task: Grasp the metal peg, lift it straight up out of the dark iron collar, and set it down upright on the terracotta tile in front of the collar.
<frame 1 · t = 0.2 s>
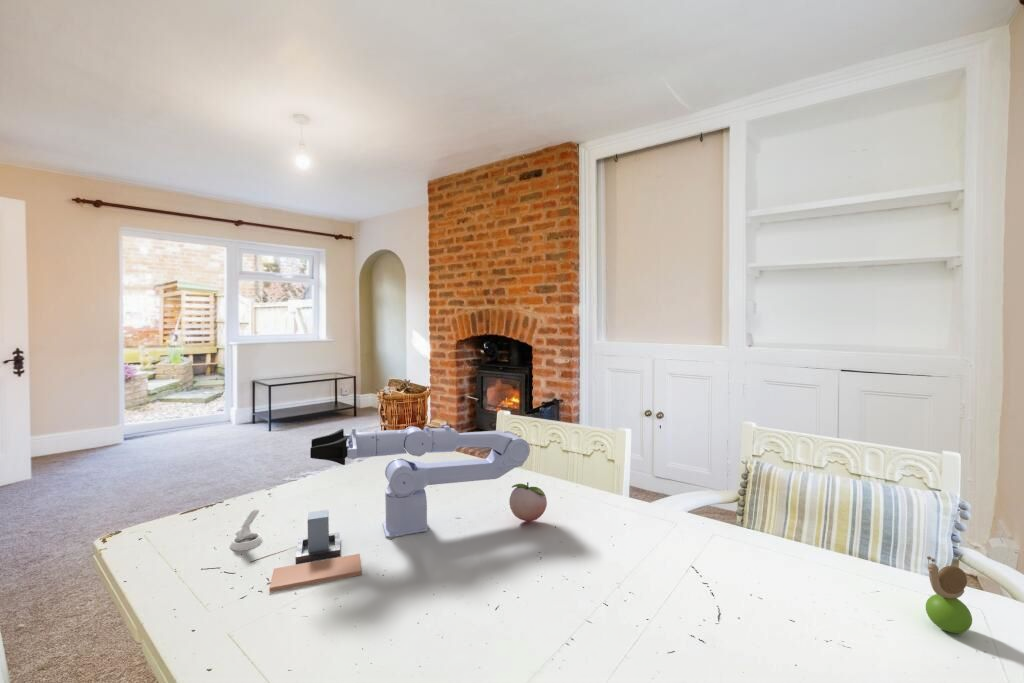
hand: (310, 448, 102), 21 cm above the table, tool horizontal, fingers open, 7 cm apart
metal peg: (318, 551, 99), resting in iron collar
decorative fruit: (527, 523, 113), on the table
terracotta tile: (317, 573, 91), on the table
iron collar: (318, 550, 99), on the table
white handled ring: (246, 544, 103), on the table
snail figurine: (944, 630, 74), on the table
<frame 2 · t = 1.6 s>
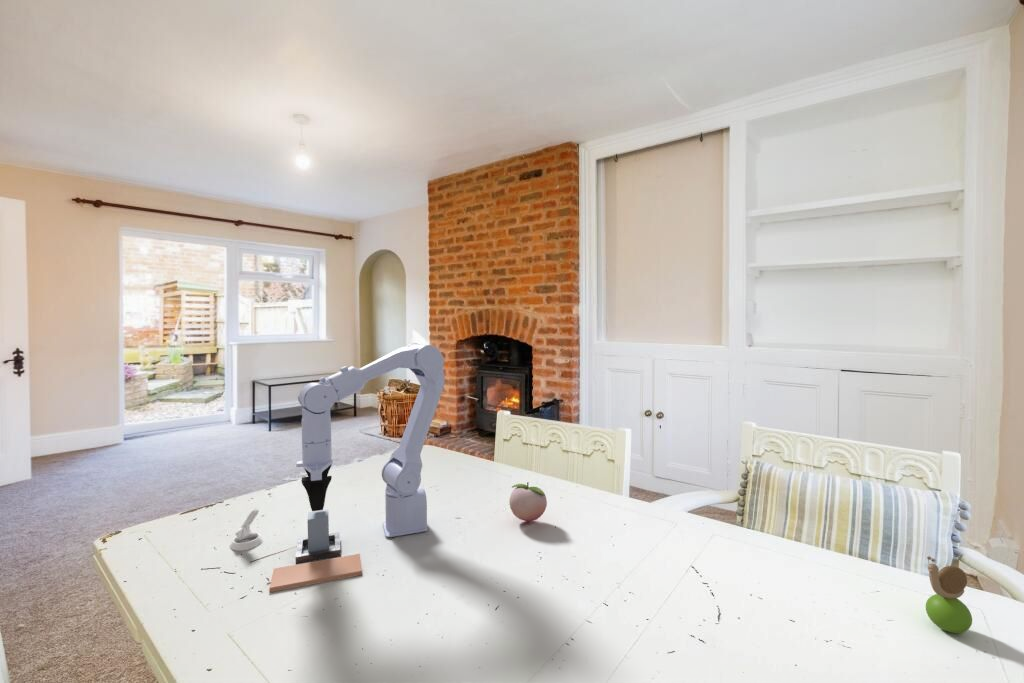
hand: (317, 503, 99), 10 cm above the table, tool pointing down, fingers open, 7 cm apart
nothing on the table moved.
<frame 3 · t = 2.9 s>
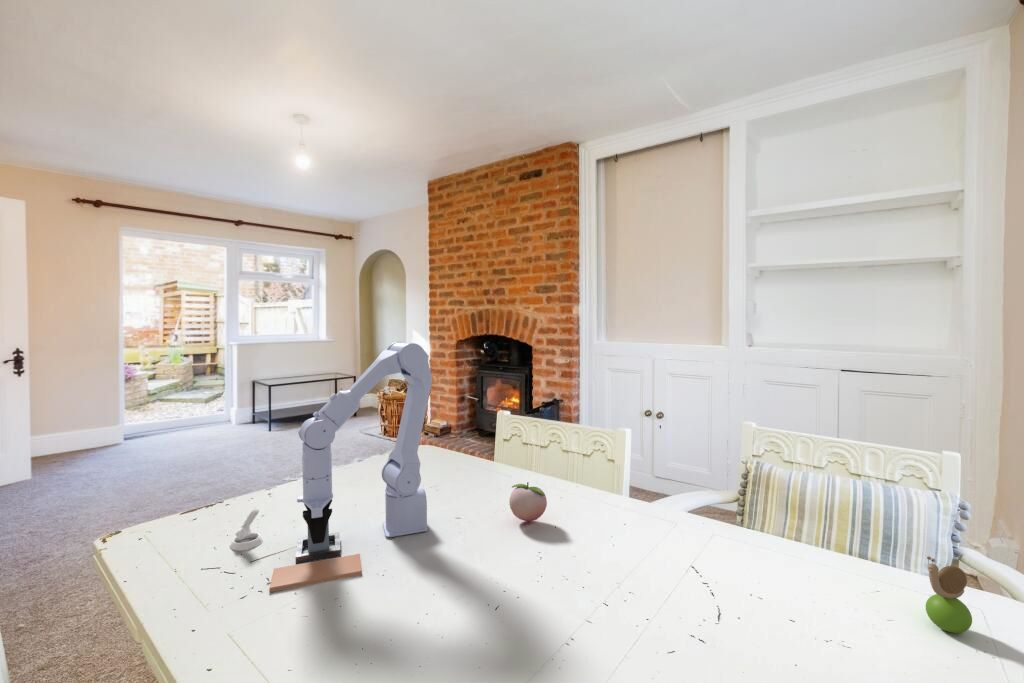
hand: (318, 537, 99), 3 cm above the table, tool pointing down, fingers closed on metal peg, 4 cm apart
metal peg: (318, 551, 99), resting in iron collar, touching gripper
everything else where it was.
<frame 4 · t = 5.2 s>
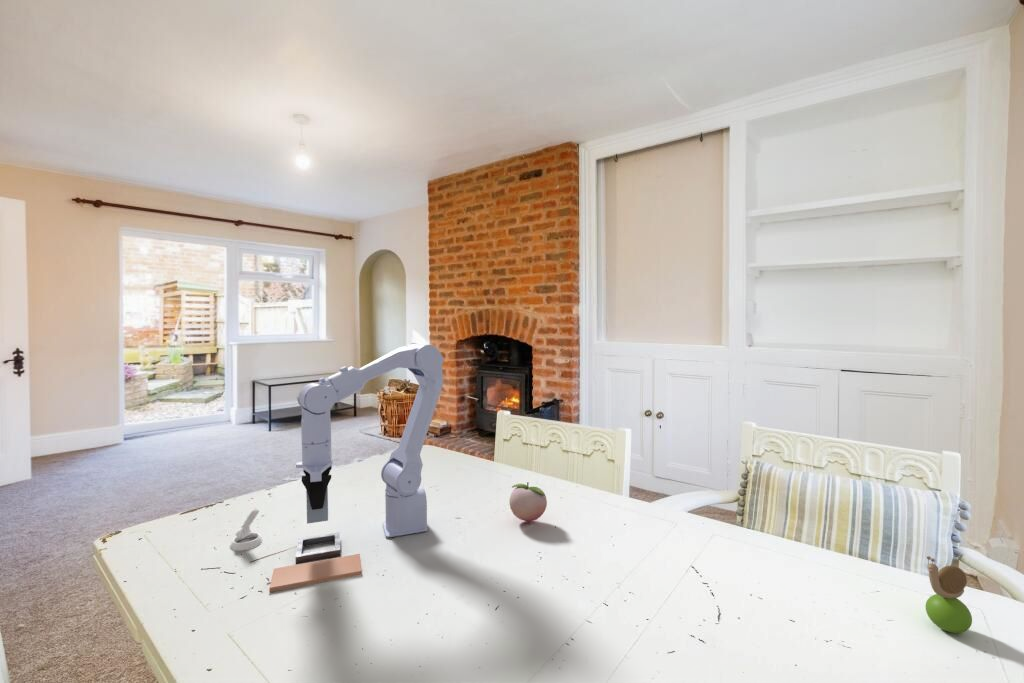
hand: (317, 504, 98), 10 cm above the table, tool pointing down, fingers closed on metal peg, 4 cm apart
metal peg: (317, 518, 98), point 7 cm above the table, touching gripper
everything else where it was.
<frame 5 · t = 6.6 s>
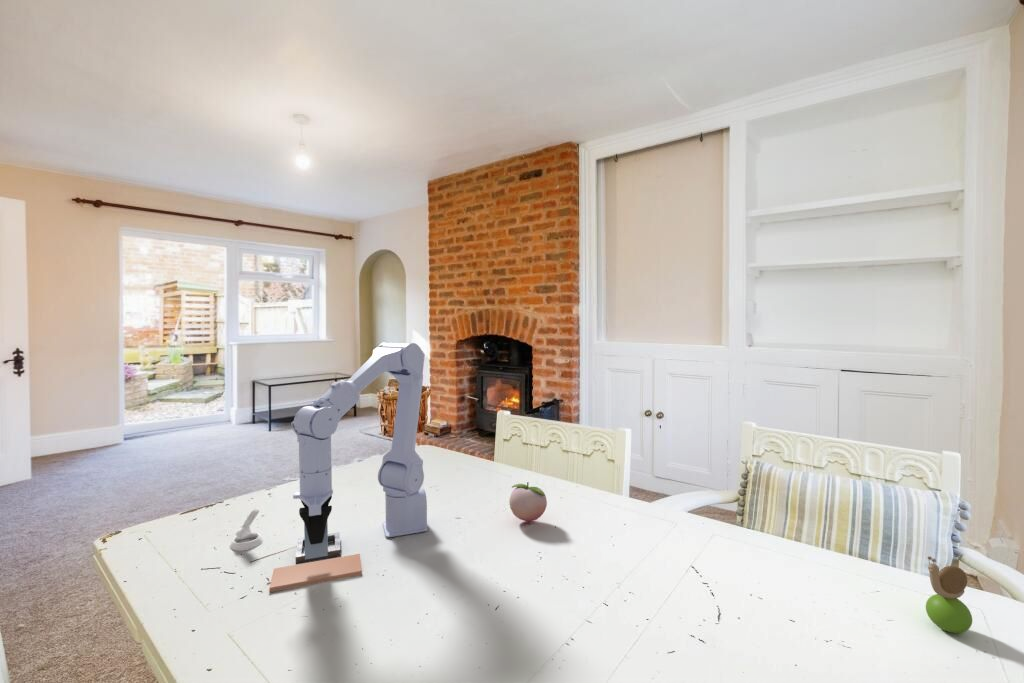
hand: (316, 537, 90), 7 cm above the table, tool pointing down, fingers closed on metal peg, 4 cm apart
metal peg: (316, 552, 90), point 4 cm above the table, touching gripper
everything else where it was.
when the fingers open (5 cm above the table, at t = 7.8 s): metal peg drops 1 cm, resting on terracotta tile.
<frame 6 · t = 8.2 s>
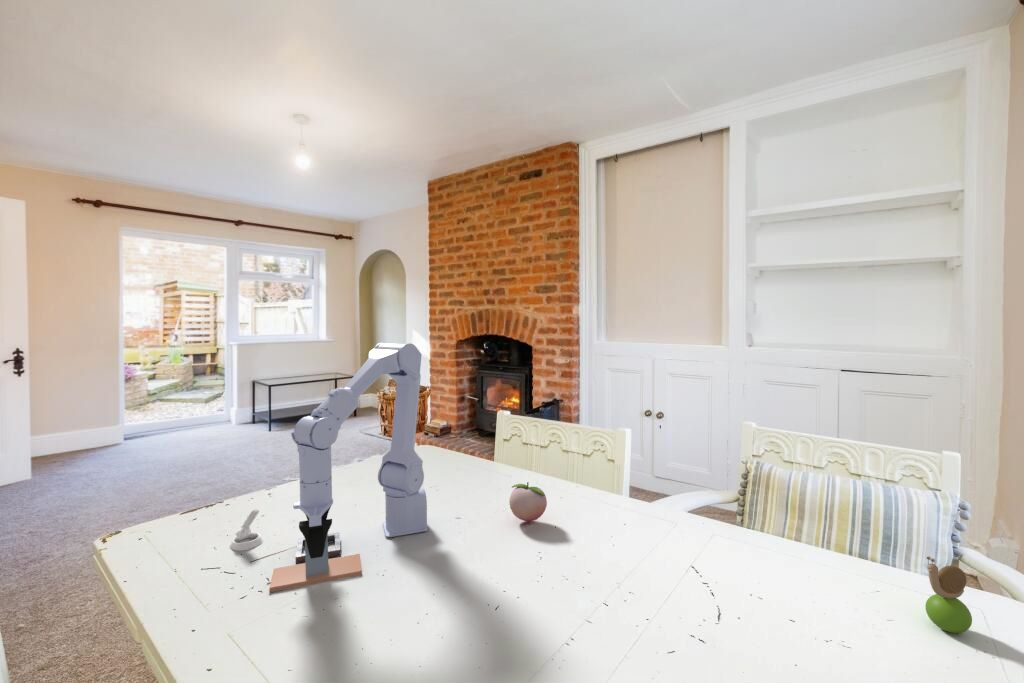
hand: (317, 547, 90), 5 cm above the table, tool pointing down, fingers open, 7 cm apart
metal peg: (317, 569, 91), point 1 cm above the table, touching terracotta tile
everything else where it was.
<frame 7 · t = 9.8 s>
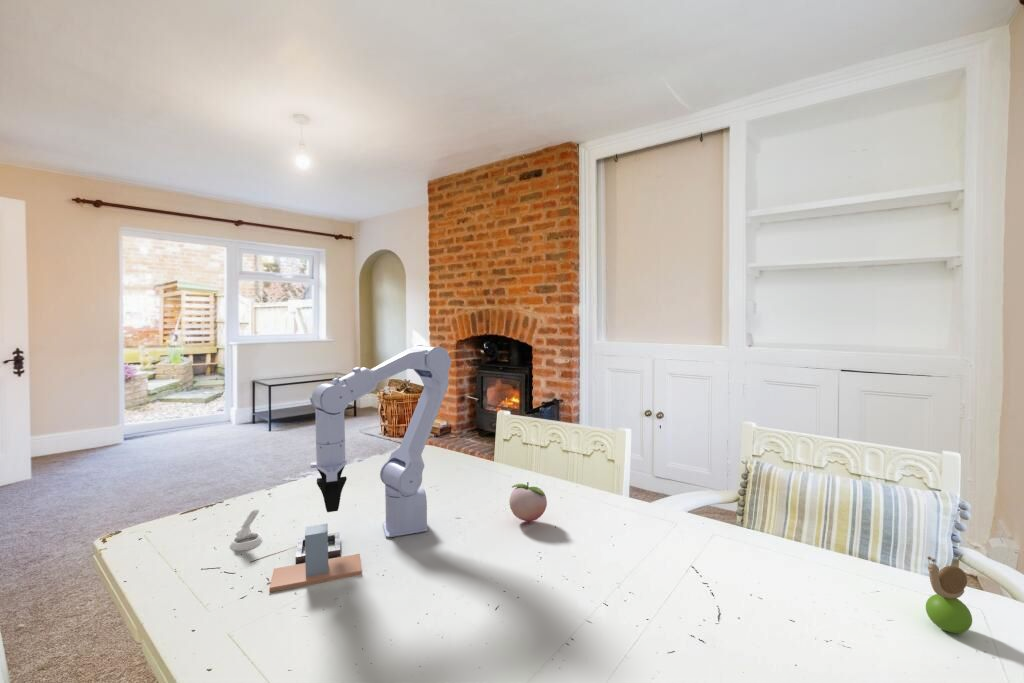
hand: (332, 504, 99), 10 cm above the table, tool pointing down, fingers open, 7 cm apart
nothing on the table moved.
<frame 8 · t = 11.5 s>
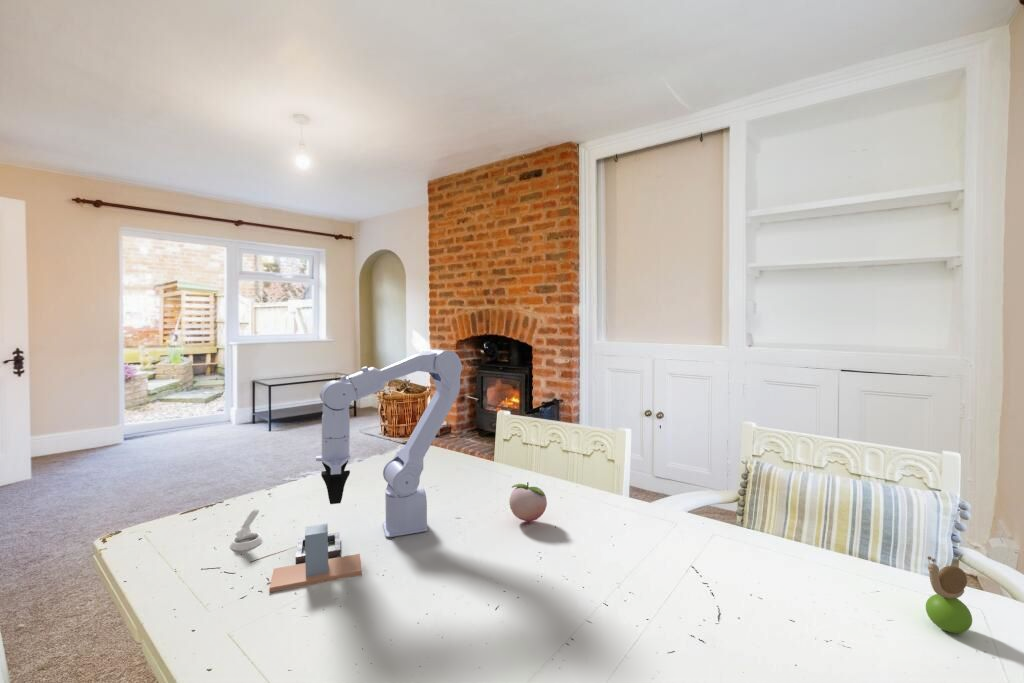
hand: (335, 496, 102), 10 cm above the table, tool pointing down, fingers open, 7 cm apart
nothing on the table moved.
at the end: metal peg 0.1 cm from the terracotta tile (horizontally); metal peg tilted 0°; the gripper is holding nothing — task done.
